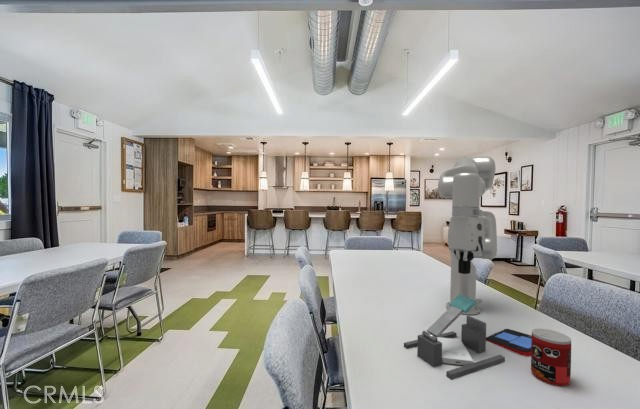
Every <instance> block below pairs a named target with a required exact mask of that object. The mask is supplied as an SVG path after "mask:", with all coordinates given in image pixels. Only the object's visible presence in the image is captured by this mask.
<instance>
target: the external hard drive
mask: <svg viewBox="0 0 640 409" xmlns="http://www.w3.org/2000/svg"><path fill="white" fill-rule="evenodd" d="M436 338H437V337H436ZM437 340H438V341H440V342H441V343H442V363H444V364H449V365H458V366H465V365H468V364H472V363H475V361H474V359H473V358H472V356H471V354H470V353H469V351H468V348H467V347H465V346H464V344H463V343H462V341H461V339H457V338H442V337H438V338H437Z"/></svg>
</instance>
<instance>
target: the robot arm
mask: <svg viewBox="0 0 640 409" xmlns="http://www.w3.org/2000/svg"><path fill="white" fill-rule="evenodd" d="M495 174H496V163H495V160H494V158H492V157H491V156H487V155H484V156H468V157H467V156H465V157H462V158H459V159H457V161H456V162H455V163H454V167H452V168H449V169H447V170H445V171H443V172H441V174H440V176H439V179H438V182H437V192H438V194H439V196H440V197H441V198H443V199H452V200H451V201H452V203H451V204H452V205H451V217H450V220H449V224H448V231H447V245H448V251H449V253H450V291H449V292H450V293H449V294H450V295H449V302H446V304H445V307H446V308H447V310H448V309H449V308H450V305H449V304H450V303H451V302H452V301H453V300H454V299H455V298H456V297H457V296H458V295H462V296H465V297H468V298H471V299H474V300H476V302H477V303H476V304H475V305H474V306H473V307H472V308H471V309H470V310H469V311H468V312H467V313H464V312H463V313H462V314H461V315H466V316H470V315H471V316H473V315H478V314H480V308H479V307H478V306H477V305H478V304H482V303H483V299H482V298H477V295H476V292H477V289H476V288H477V268H476V265H475V264H474V263H473V260H474V259H480V260H481V259H483V260H493V259H495V258H496V256H497V254H498V239H497V238H498V236H497V221H496V220H497V219H496V215H495V214H494V213H493V212H491V211H489V210H488V211H487V210H482V209H481V208H480V206H481V205H480V204H481V203H480V200H481V199H480V198H481V197H482V196H483V195H484V194H485V193H486V190H489V189H491V188H492V186H493V185H494V179H495Z"/></svg>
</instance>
